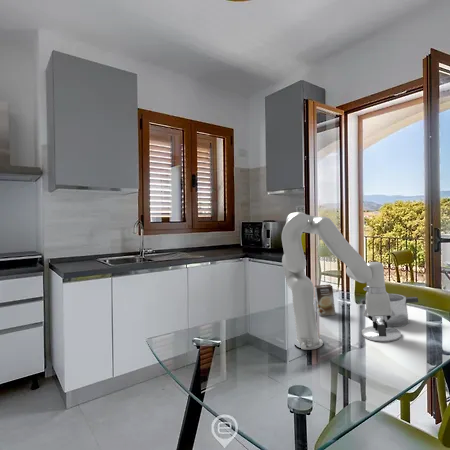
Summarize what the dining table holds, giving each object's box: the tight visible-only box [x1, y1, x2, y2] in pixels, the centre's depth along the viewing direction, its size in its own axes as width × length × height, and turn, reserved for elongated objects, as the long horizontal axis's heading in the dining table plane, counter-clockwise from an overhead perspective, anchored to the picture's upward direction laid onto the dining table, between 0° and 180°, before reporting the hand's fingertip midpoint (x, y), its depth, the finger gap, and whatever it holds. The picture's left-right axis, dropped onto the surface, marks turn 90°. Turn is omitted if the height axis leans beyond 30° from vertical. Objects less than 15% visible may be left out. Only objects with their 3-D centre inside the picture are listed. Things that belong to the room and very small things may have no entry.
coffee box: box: [314, 284, 336, 317], centre depth 185 cm, size 9×6×16 cm
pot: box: [361, 293, 419, 328], centre depth 161 cm, size 25×15×12 cm, turn 73°
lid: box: [361, 318, 402, 343], centre depth 147 cm, size 16×16×6 cm
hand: (380, 329), depth 147 cm, fingers closed on lid, 3 cm apart
